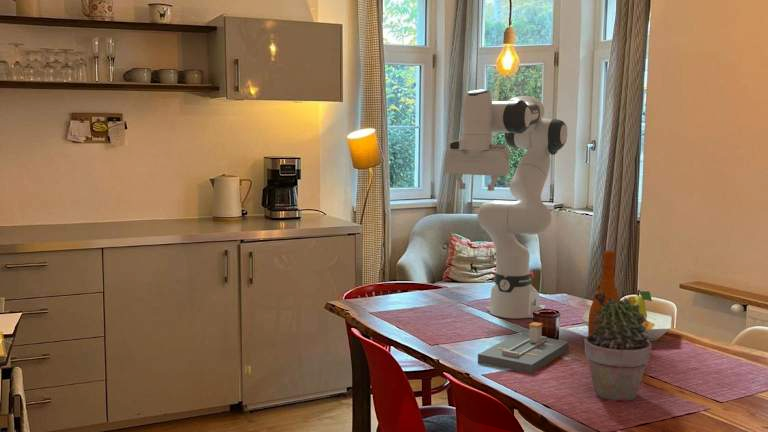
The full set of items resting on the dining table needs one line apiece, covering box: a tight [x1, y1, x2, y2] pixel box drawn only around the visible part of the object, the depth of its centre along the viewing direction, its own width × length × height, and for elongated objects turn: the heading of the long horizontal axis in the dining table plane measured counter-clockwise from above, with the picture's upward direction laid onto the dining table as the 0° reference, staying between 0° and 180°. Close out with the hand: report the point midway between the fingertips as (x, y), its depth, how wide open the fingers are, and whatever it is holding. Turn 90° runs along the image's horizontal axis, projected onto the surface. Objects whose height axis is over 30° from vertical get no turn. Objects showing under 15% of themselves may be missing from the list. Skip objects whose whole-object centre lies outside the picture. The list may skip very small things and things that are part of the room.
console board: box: [477, 332, 570, 374], centre depth 218 cm, size 26×16×4 cm, turn 145°
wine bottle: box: [587, 249, 622, 336], centre depth 218 cm, size 10×10×30 cm
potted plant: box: [578, 289, 663, 402], centre depth 186 cm, size 18×20×25 cm
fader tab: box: [528, 321, 544, 343], centre depth 223 cm, size 3×3×5 cm
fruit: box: [581, 289, 672, 342], centre depth 240 cm, size 30×26×14 cm
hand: (476, 189), depth 233 cm, fingers open, 8 cm apart
